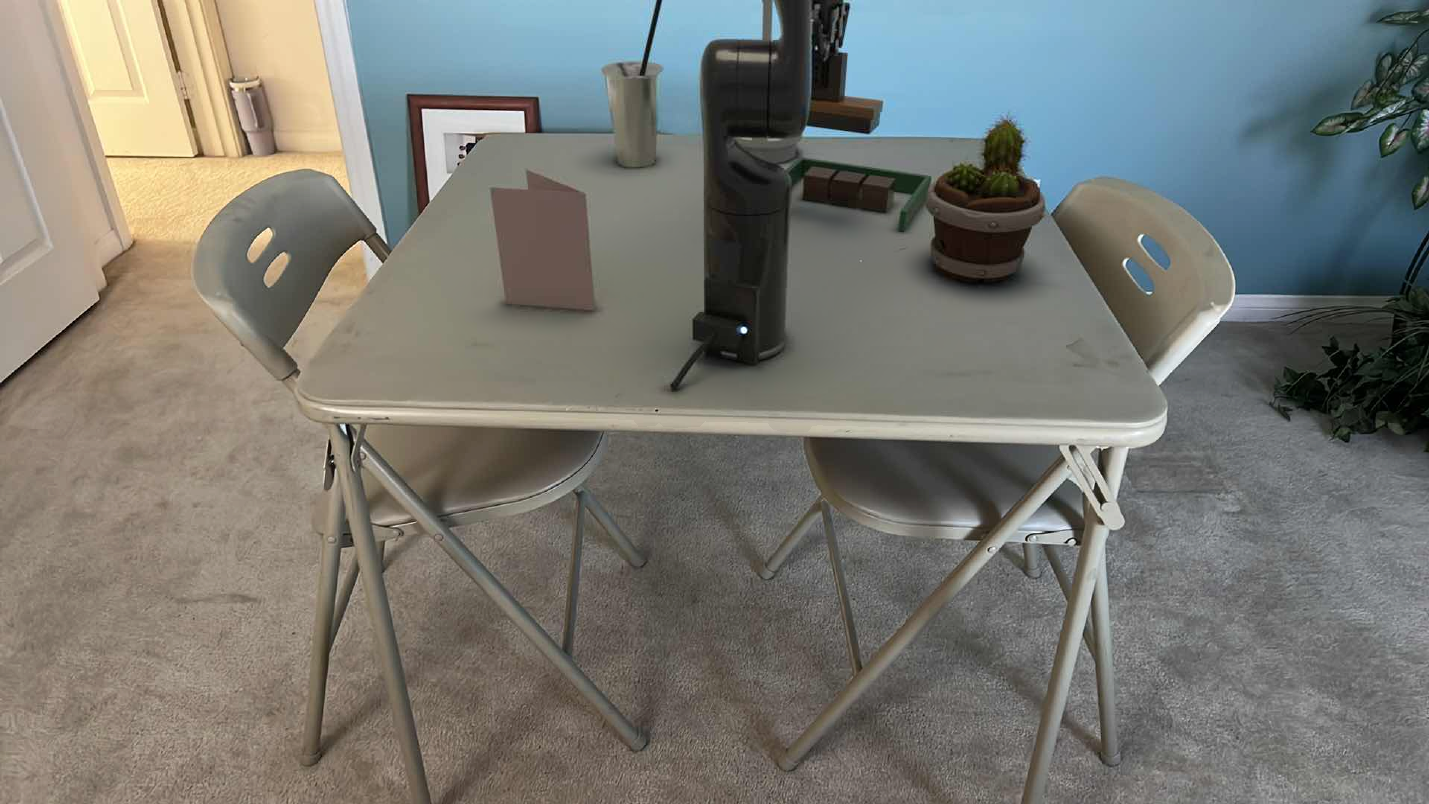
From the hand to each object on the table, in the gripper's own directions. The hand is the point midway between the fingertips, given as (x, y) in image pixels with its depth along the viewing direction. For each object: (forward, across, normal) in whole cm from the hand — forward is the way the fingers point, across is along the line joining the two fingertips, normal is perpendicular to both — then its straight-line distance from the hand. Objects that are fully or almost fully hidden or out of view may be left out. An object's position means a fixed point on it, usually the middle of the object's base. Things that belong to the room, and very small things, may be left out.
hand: (821, 85), depth 130 cm
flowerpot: (+19, +9, +26) cm, 33 cm away
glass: (+19, -10, -35) cm, 41 cm away
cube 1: (+19, -7, +8) cm, 21 cm away
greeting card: (+19, +41, -20) cm, 49 cm away
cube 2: (+19, -7, +3) cm, 20 cm away
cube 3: (+19, -7, -2) cm, 20 cm away
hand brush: (+5, 0, 0) cm, 5 cm away
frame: (+19, -7, +3) cm, 20 cm away
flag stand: (+19, -22, -17) cm, 34 cm away
